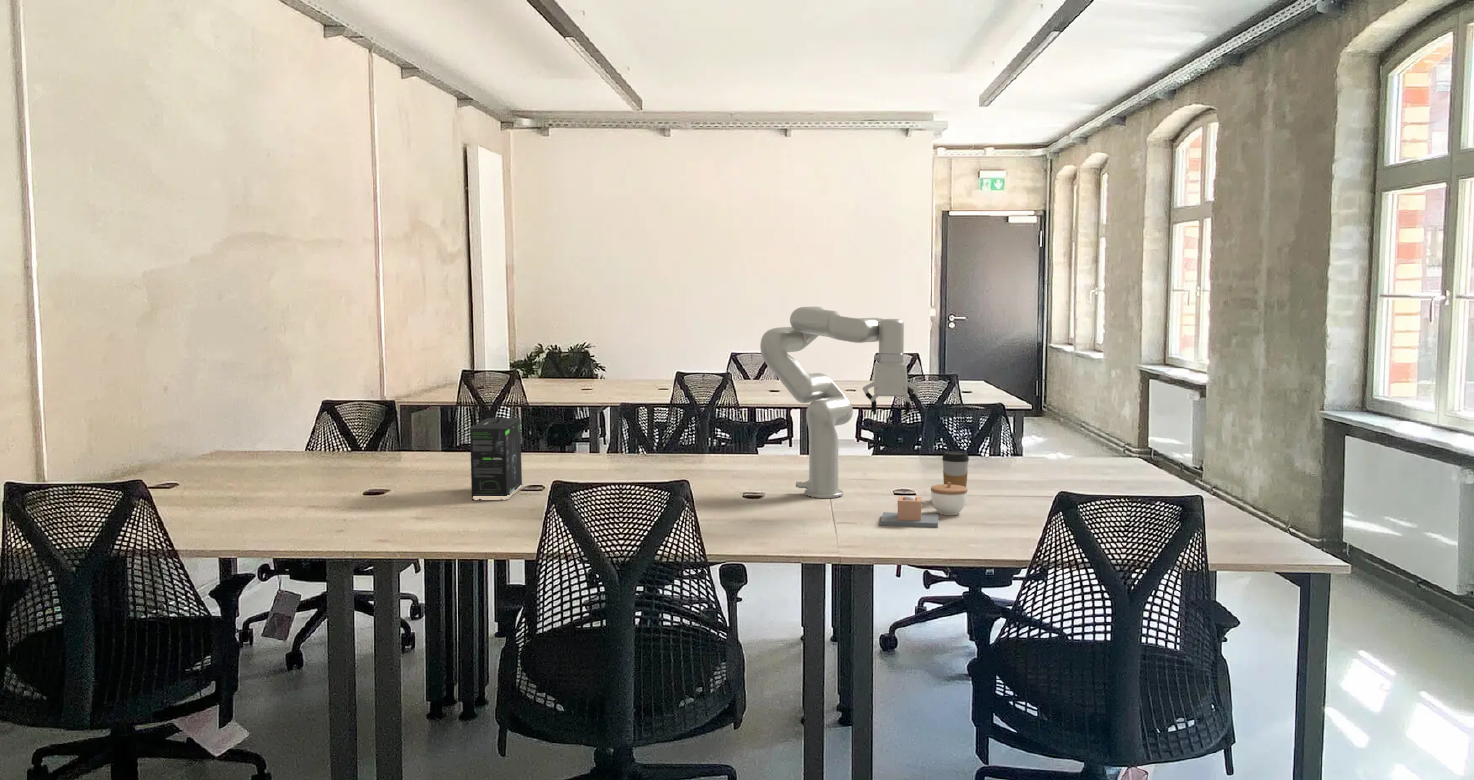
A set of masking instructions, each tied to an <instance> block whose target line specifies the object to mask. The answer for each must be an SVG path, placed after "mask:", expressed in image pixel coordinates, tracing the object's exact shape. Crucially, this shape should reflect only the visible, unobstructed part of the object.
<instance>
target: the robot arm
mask: <svg viewBox="0 0 1474 780" xmlns="http://www.w3.org/2000/svg"><path fill="white" fill-rule="evenodd" d="M789 324H790V325H791V326H781V327H774V328H771V329H768V330H767V331H766V332H764V333H763V335H762V337H761V339H760V347H759V348H760V354H761V357H762V359H763V362H764V363H765V364H766V365H767V368H769V369H770V370H771V372H773V374H774V375H775V376H776V377H777V378H778V379H779V380H780V382H781V383H782V385H783V386H784V387H785V389H786V390H787V391H788V393H790V394H791V396H792V397H793V398H794V399H795V400H796V401H797V402H798V403H801V404H809V405H808V406H807V408H806V414H805V415H806V424H807V427H808V442H809V443H808V449H809V450H808V453H809V454H808V455H809V456H808V459H809V460H808V468H809V469H808V480H805V481H796V482H795V488H798V489H805V490H804V491H803V492H804V493H803V494H804V495H805V496H806V495H808V496H807V497H809V496H811V497H810V498H815V497H816V499H817V498H818V499H833V498H839V496H840V497H842V496H843V495H844V491H843V490H842V489H840V488H839V437H838V433H837V430H836V427H838V426H842V425H845V424H847V423H849V421H850V420H851V419H852V417H853V414H854V411H853V409H854V408H853V405H852V402H851V401H850V400H849V398H848V397H847V396H846V395H845V394H844V392H843V391H842V389H840V388H839V386H838V385H837V384H836V383H835V382H834V381H833V380H832V378H831V377H829V376H828V375H827V374H824V373H820V372H816V373H815V372H813V373H809V372H808V371H807V370H806V369H805V367H803V366H802V364H801V363H800V362H799V361H798V360H797V359H796V358H794V357H793V356H791V355H790V354H789V353H795V352H799V351H802V350H804V349H805V348H806V347H807V346H809V345H810V344H812V342H813V341H814V340H815V339H817V338H818V337H819V336H821V337H827V338H830V339H834V340H837V341H842V342H843V341H844V342H850V343H854V344H857V343H858V344H863V343H875V342H878V354H877V355H876V354H875V355H874V356H873V360H874V361H875V360H876V361H878V362H877V363H876V364H875V368H874V378H873V381H872V382H871V383H868V384H866V385H865V386H863V387H862V391H863V393H864V394H865V397H867V399H868V400H870V402H871V403H870V404H871V405H870V406H871V407H870V409H871V411H870V412H872V413H873V415H877V401H876V399H878V397H903V399H904V400H905V401H904V415H905V416H908V414H909V413H911V402H912V401H913V400H914V399H915V398H916V397H917V395H918V393H919V391H920V387H918V386H916V385H915V384H913V383H910V382H909V381H908V370H907V365H906V363H904V352H905V351H904V350H905V349H904V346H905V345H904V344H905V343H904V341H905V339H904V338H905V335H904V333H905V332H904V330H905V324H904V321H903V319H899V318H879V317H864V318H863V317H861V318H858V317H848V316H842V315H840V314H839V312H838V311H837V310H836V311H835V310H828V309H824V308H823V307H820V306H802V307H801V306H800V307H798V308H796V309H794V310H793V311H792V312H791V314H790V317H789ZM871 388H873V392H874V394H873V395H872V394H871V393H870V392H869V389H871ZM908 388H909V389H911V390H913V392H912V394H911V395H908Z"/></svg>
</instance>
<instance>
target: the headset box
mask: <svg viewBox="0 0 1474 780" xmlns="http://www.w3.org/2000/svg"><path fill="white" fill-rule="evenodd" d="M521 424H522V423H521V418H520V417H512V418H510V417H509V418H507V417H504V418H503V415H501V416H499V417H488V418H485V419H483V420H481V421H480V422H478V423H476V424H474V425H472V426H471V427H470V428H469V438H470V439H469V440H470V441H469V442H470V449H469V450H470V476H471V477H470V479H471V497H472V496H507V495H510V494H511V493H512V492H513V491H514V490H516V489H517V488H518V487H519V486H520V485H522V486H523V478H522V477H523V476H522V470H523V469H522V442H521V441H522V437H521V434H522V432H521V431H522V430H521Z"/></svg>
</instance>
